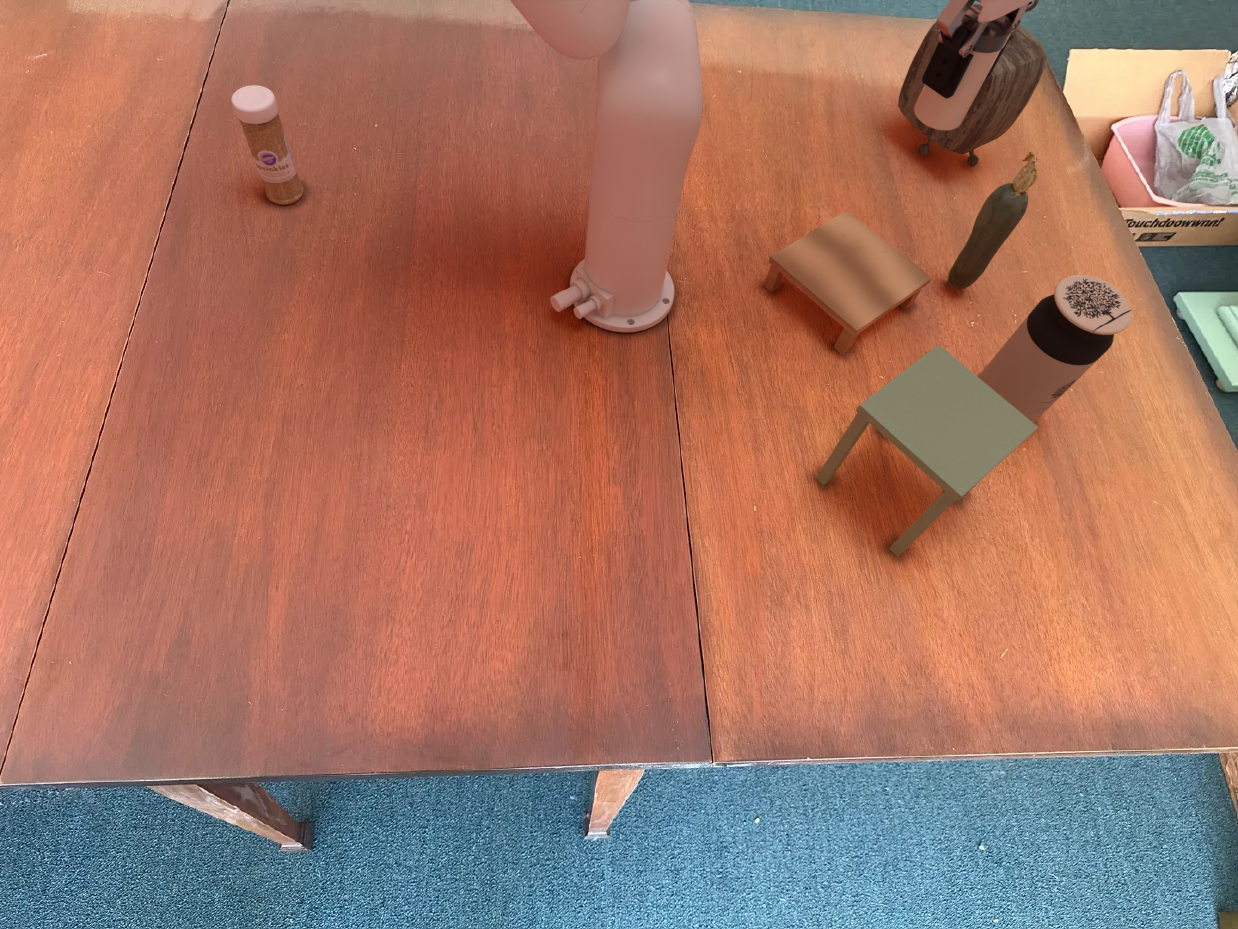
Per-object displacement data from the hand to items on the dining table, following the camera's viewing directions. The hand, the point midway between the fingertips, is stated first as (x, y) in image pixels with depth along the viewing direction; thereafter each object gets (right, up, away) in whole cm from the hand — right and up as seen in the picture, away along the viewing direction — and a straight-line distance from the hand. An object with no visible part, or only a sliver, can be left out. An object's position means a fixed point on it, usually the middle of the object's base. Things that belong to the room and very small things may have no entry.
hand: (955, 77), depth 70 cm
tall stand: (-1, -37, +14) cm, 40 cm away
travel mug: (+14, -28, +21) cm, 38 cm away
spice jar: (0, -2, +3) cm, 4 cm away
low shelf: (-3, -14, +27) cm, 31 cm away
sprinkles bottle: (-72, -1, +27) cm, 77 cm away
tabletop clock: (+15, +11, +44) cm, 48 cm away
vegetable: (+12, -13, +30) cm, 34 cm away
